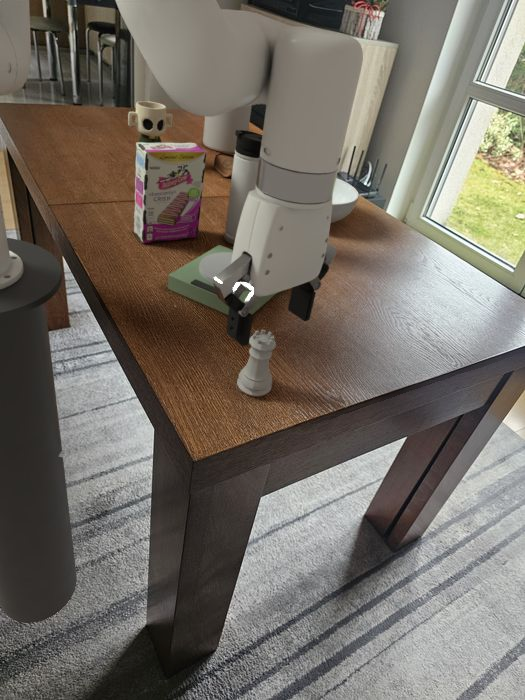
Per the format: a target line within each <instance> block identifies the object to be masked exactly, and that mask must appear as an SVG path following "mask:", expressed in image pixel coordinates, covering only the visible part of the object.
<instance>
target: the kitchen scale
mask: <svg viewBox="0 0 525 700" xmlns="http://www.w3.org/2000/svg"><path fill="white" fill-rule="evenodd" d="M232 254H233V249H231V248H229V247H226V246H223V245H221V244H218V245H216V246H214V247H213V248H211V249H209V250H208V251H206V252H205V253H203V254H200V255H199V256H198V257H196V258H194V259H192V260H191V261H189V262H188V263H186V264H184V265H183V266H180V267H179V268H177V269H175V270H174V271H172V272H170V273H169V274H168V275H167V290H170V291H171V292H175V293H176V294H179V295H181V296H183V297H186V298H188V299H191V300H192V301H195V302H197V303H200V304H202V305H204V306H206V307H209V308H211V309H213V310H216V311H218V312H220V313H223V314H224V315H227V316H228V313H229V307H228V306H227V305H226V304H225V303H224V302H223V301H222V300H220V299H219V298H218V293H217V292H216V289H215V287H214V285H213V279H214V278H215V277H216V276H217V275H218V274H219V273H221V272H222V271H223V270H224V269H225V268H227V267H228V266H229V265H230V264H231V260H232ZM236 283H237V282H236ZM236 283H235V284H236ZM235 284H234V285H233V287H234V286H235ZM249 284H251V285H252V282H251V280H250V281H249ZM252 286H254V285H252ZM249 293H250V291H249V290H247V289H245V290H244V292H243V293H242V295H241V296H240V297H239V299H240V300H241V301H242V302H244V300H245V299H246V298H247V296H248V295H249ZM278 293H279V292H277V293H274V294H271V295H267V296H262V297H260V298H259V300H258V301H257V302H256V304H255V305H254V307H253V308H252V309H251V311H250V312H249V313H250V314H252V315H254V314H255V313H256V312H257V311H258V310H260V308H262V307H263V306H264V305H265V304H266V303H268V302H269V301H270V300H271V299H272V298H273V297H274V296H275V295H277V294H278Z"/></svg>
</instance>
